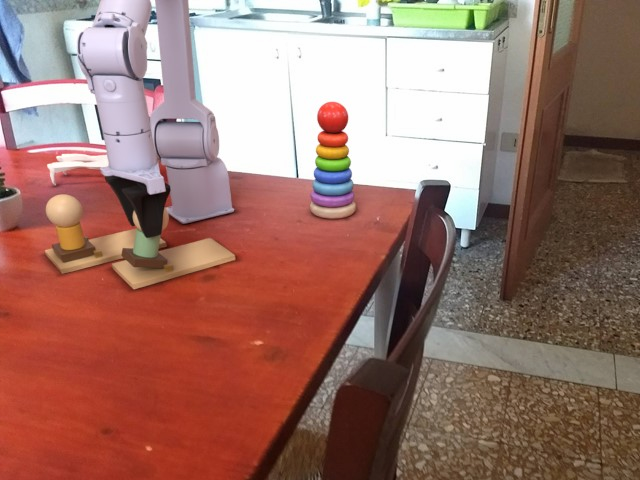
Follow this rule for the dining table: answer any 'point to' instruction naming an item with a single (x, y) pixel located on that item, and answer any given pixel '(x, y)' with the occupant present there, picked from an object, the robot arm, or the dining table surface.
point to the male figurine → (77, 163)
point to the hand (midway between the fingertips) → (145, 229)
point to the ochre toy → (68, 228)
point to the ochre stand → (99, 251)
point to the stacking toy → (332, 166)
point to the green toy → (145, 247)
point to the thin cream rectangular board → (176, 263)
